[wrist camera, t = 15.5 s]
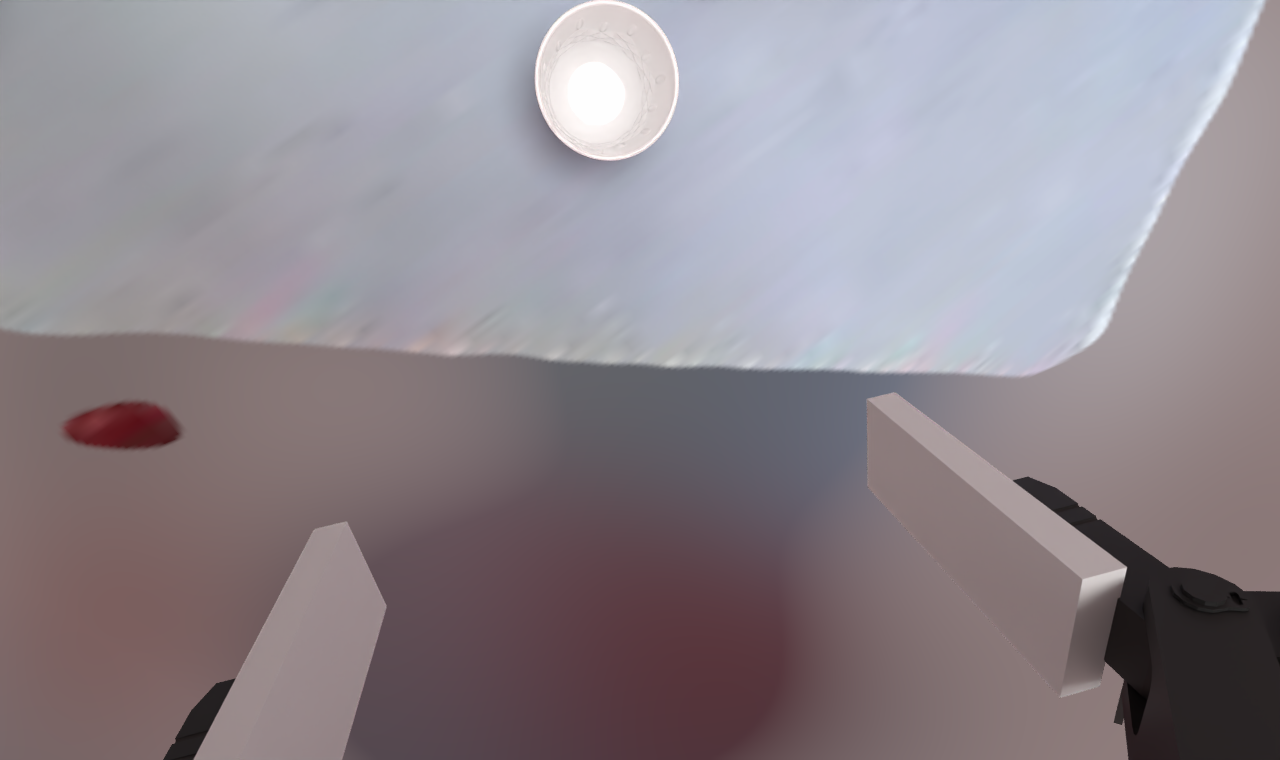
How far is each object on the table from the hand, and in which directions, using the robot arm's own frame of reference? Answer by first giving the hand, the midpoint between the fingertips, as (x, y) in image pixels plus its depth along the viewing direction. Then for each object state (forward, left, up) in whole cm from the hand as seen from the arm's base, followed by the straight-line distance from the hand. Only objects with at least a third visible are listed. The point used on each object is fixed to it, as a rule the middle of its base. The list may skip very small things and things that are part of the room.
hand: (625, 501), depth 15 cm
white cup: (+4, +11, -34) cm, 35 cm away
